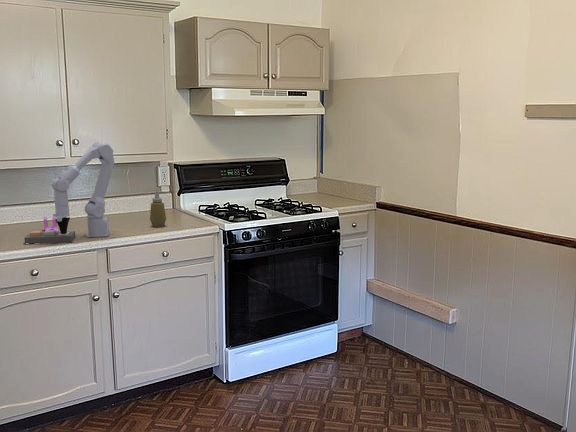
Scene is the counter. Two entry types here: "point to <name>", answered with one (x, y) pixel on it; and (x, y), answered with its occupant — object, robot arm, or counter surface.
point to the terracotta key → (36, 233)
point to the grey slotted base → (51, 238)
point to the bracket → (53, 224)
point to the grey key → (50, 233)
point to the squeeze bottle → (157, 212)
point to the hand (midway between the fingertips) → (63, 233)
